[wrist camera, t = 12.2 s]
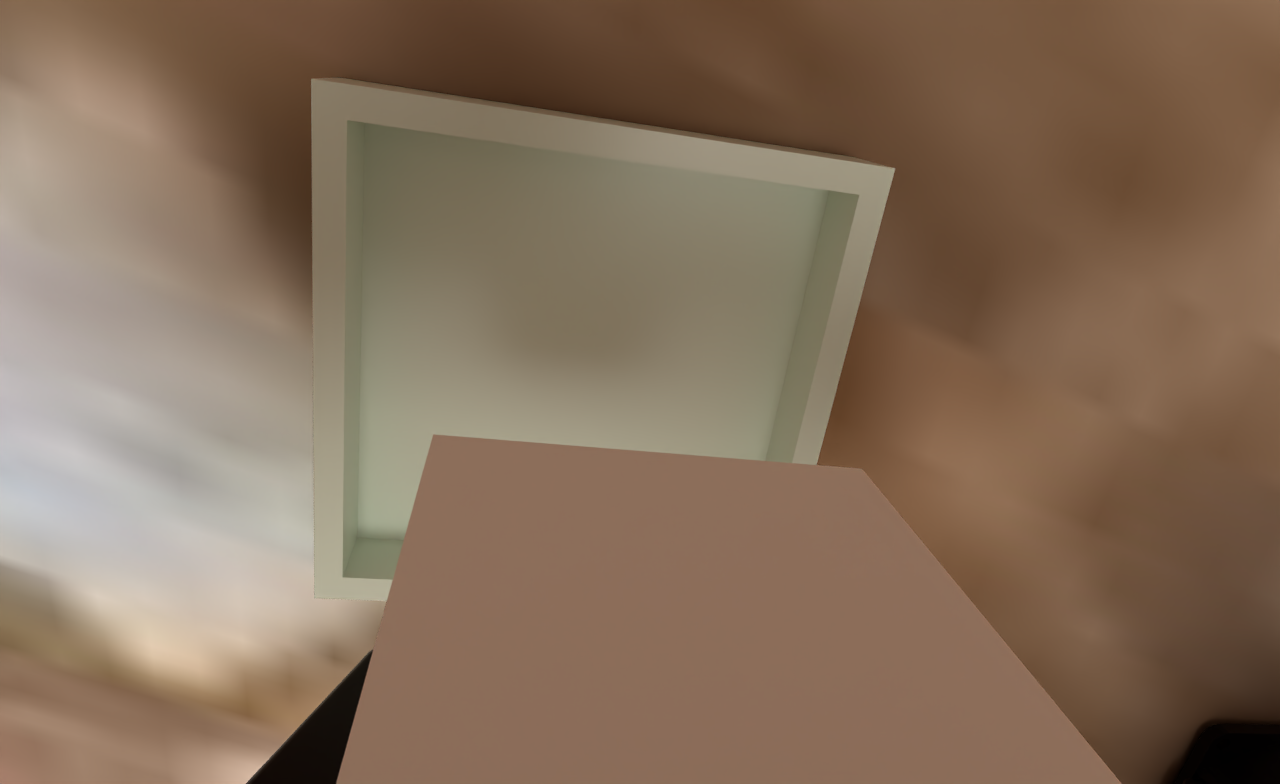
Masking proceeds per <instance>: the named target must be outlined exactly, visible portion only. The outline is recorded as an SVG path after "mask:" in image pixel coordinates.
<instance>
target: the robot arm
mask: <svg viewBox="0 0 1280 784" xmlns="http://www.w3.org/2000/svg"><path fill="white" fill-rule="evenodd" d="M372 653H373V650H371V651H370V652H369V653H368V654H367V655H366V656H365V657H364V658H363V659H362V660H361V661H360V662H359V663H358V664H357V666H356V667H355V668H354V669H353V670H352V671H351V672H350V673H349V674H348V675H347V676H346V677H345V678H344V679H343V680H342V682H341V683H340V684H339V685H338V686H337V687H336V688H335V689H334V690H333V691H332V692H331V693H330V694H329V695H328V697H327V698H326V699H325V700H324V701H323V702H322V703H321V704H320V705H319V706H318V707H317V708H316V709H315V710H314V711H313V713H312V714H311V715H310V716H309V717H308V718H307V719H306V720H305V721H304V722H303V723H302V724H301V725H300V726H299V728H298V729H297V730H296V731H295V732H294V733H293V734H292V735H291V736H290V737H289V738H288V739H287V740H286V741H285V742H284V744H283V745H282V746H281V747H280V748H279V749H278V750H277V751H276V752H275V753H274V754H273V755H272V756H271V757H270V759H269V760H268V761H267V762H266V763H265V764H264V765H263V766H262V767H261V768H260V769H259V770H258V771H257V772H256V773H255V775H254V776H253V777H252V778H251V779H250V780H249V781H248V782H247V783H246V784H336V782H337V779H338V775H339V771H340V768H341V764H342V761H343V757H344V753H345V750H346V746H347V743H348V739H349V735H350V732H351V728H352V725H353V721H354V717H355V714H356V710H357V707H358V703H359V699H360V696H361V692H362V689H363V685H364V681H365V678H366V674H367V671H368V667H369V663H370V660H371V656H372ZM1175 784H1280V725H1252V724H1216V725H1213V726H1211V727H1209V728H1208V729H1206V730H1205V731H1204V732H1203V734H1202V735H1201V737H1200V739H1199V740H1198V742H1197V744H1196V746H1195V748H1194V749H1193V751H1192V753H1191V755H1190V757H1189V758H1188V760H1187V762H1186V764H1185V766H1184V767H1183V769H1182V771H1181V773H1180V775H1179V776H1178V778H1177V780H1176V782H1175Z"/></svg>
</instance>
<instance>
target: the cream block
mask: <svg viewBox="0 0 1280 784" xmlns="http://www.w3.org/2000/svg"><path fill="white" fill-rule="evenodd" d="M336 784H1122V783H1121V782H1120V781H1119V780H1118V779H1117V777H1116V776H1115V775H1114V774H1113V773H1112V771H1111V770H1110V769H1109V768H1108V766H1107V765H1106V764H1105V763H1104V762H1103V760H1102V759H1101V758H1100V757H1099V756H1098V754H1097V753H1096V752H1095V751H1094V749H1093V748H1092V747H1091V746H1090V745H1089V743H1088V742H1087V741H1086V740H1085V739H1084V737H1083V736H1082V735H1081V734H1080V733H1079V731H1078V730H1077V729H1076V728H1075V726H1074V725H1073V724H1072V723H1071V722H1070V720H1069V719H1068V718H1067V717H1066V716H1065V714H1064V713H1063V712H1062V711H1061V709H1060V708H1059V707H1058V706H1057V705H1056V703H1055V702H1054V701H1053V700H1052V699H1051V697H1050V696H1049V695H1048V694H1047V692H1046V691H1045V690H1044V689H1043V688H1042V686H1041V685H1040V684H1039V683H1038V682H1037V680H1036V679H1035V678H1034V677H1033V675H1032V674H1031V673H1030V672H1029V671H1028V669H1027V668H1026V667H1025V666H1024V665H1023V663H1022V662H1021V661H1020V660H1019V659H1018V657H1017V656H1016V655H1015V654H1014V652H1013V651H1012V650H1011V649H1010V648H1009V646H1008V645H1007V644H1006V643H1005V642H1004V640H1003V639H1002V638H1001V637H1000V635H999V634H998V633H997V632H996V631H995V629H994V628H993V627H992V626H991V625H990V623H989V622H988V621H987V620H986V618H985V617H984V616H983V615H982V614H981V612H980V611H979V610H978V609H977V608H976V606H975V605H974V604H973V603H972V602H971V600H970V599H969V598H968V597H967V595H966V594H965V593H964V592H963V591H962V589H961V588H960V587H959V586H958V585H957V583H956V582H955V581H954V580H953V578H952V577H951V576H950V575H949V574H948V572H947V571H946V570H945V569H944V568H943V566H942V565H941V564H940V563H939V561H938V560H937V559H936V558H935V557H934V555H933V554H932V553H931V552H930V551H929V549H928V548H927V547H926V546H925V545H924V543H923V542H922V541H921V540H920V538H919V537H918V536H917V535H916V534H915V532H914V531H913V530H912V529H911V528H910V526H909V525H908V524H907V523H906V521H905V520H904V519H903V518H902V517H901V515H900V514H899V513H898V512H897V511H896V509H895V508H894V507H893V506H892V504H891V503H890V502H889V501H888V500H887V498H886V497H885V496H884V495H883V494H882V492H881V491H880V490H879V489H878V488H877V486H876V485H875V484H874V483H873V481H872V480H871V479H870V478H869V477H868V475H867V474H866V473H865V472H864V471H863V469H860V468H847V467H835V466H822V465H810V464H797V463H785V462H772V461H760V460H747V459H735V458H722V457H710V456H697V455H685V454H672V453H660V452H647V451H635V450H622V449H610V448H597V447H585V446H572V445H560V444H547V443H535V442H522V441H510V440H497V439H485V438H472V437H460V436H447V435H435V434H433V437H432V440H431V444H430V448H429V451H428V455H427V458H426V462H425V466H424V469H423V473H422V476H421V480H420V483H419V487H418V491H417V494H416V498H415V501H414V505H413V509H412V512H411V516H410V519H409V523H408V527H407V530H406V534H405V537H404V541H403V545H402V548H401V552H400V555H399V559H398V563H397V566H396V570H395V573H394V577H393V581H392V584H391V588H390V591H389V595H388V599H387V602H386V606H385V609H384V613H383V617H382V620H381V624H380V627H379V631H378V635H377V638H376V642H375V645H374V649H373V653H372V656H371V660H370V663H369V667H368V671H367V674H366V678H365V681H364V685H363V689H362V692H361V696H360V699H359V703H358V707H357V710H356V714H355V717H354V721H353V725H352V728H351V732H350V735H349V739H348V743H347V746H346V750H345V753H344V757H343V761H342V764H341V768H340V771H339V775H338V779H337V782H336Z"/></svg>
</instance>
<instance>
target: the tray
mask: <svg viewBox="0 0 1280 784" xmlns="http://www.w3.org/2000/svg"><path fill="white" fill-rule="evenodd" d="M311 134H312V294H313V453H314V598H321V599H345V600H370V601H387V599H388V595H389V591H390V588H391V584H392V581H393V577H394V573H395V570H396V566H397V563H398V559H399V555H400V552H401V548H402V545H403V541H404V537H405V534H406V530H407V527H408V523H409V519H410V516H411V512H412V509H413V505H414V501H415V498H416V494H417V491H418V487H419V483H420V480H421V476H422V473H423V469H424V466H425V462H426V458H427V455H428V451H429V448H430V444H431V440H432V437H433V434H435V435H447V436H460V437H472V438H485V439H497V440H510V441H522V442H535V443H547V444H560V445H572V446H585V447H597V448H610V449H622V450H635V451H647V452H660V453H672V454H685V455H697V456H710V457H722V458H735V459H747V460H760V461H772V462H785V463H797V464H810V465H817V461H818V458H819V454H820V450H821V446H822V443H823V439H824V435H825V431H826V427H827V424H828V420H829V416H830V412H831V409H832V405H833V401H834V397H835V394H836V390H837V386H838V382H839V378H840V375H841V371H842V367H843V363H844V360H845V356H846V352H847V348H848V345H849V341H850V337H851V333H852V329H853V326H854V322H855V318H856V314H857V311H858V307H859V303H860V299H861V296H862V292H863V288H864V284H865V281H866V277H867V273H868V269H869V265H870V262H871V258H872V254H873V250H874V247H875V243H876V239H877V235H878V232H879V228H880V224H881V220H882V216H883V213H884V209H885V205H886V201H887V198H888V194H889V190H890V186H891V183H892V179H893V175H894V171H895V168H892V167H888V166H885V165H881V164H877V163H874V162H870V161H866V160H863V159H859V158H855V157H851V156H845V155H838V154H832V153H825V152H819V151H812V150H806V149H799V148H793V147H786V146H780V145H774V144H767V143H761V142H754V141H748V140H741V139H735V138H728V137H722V136H715V135H709V134H703V133H696V132H690V131H683V130H677V129H670V128H664V127H657V126H651V125H644V124H638V123H632V122H625V121H619V120H612V119H606V118H599V117H593V116H586V115H580V114H573V113H567V112H561V111H554V110H548V109H541V108H535V107H528V106H522V105H515V104H509V103H502V102H496V101H490V100H483V99H477V98H470V97H464V96H457V95H451V94H444V93H438V92H431V91H425V90H419V89H412V88H406V87H399V86H393V85H386V84H380V83H373V82H367V81H360V80H354V79H348V78H341V77H337V78H313V79H311Z"/></svg>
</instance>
